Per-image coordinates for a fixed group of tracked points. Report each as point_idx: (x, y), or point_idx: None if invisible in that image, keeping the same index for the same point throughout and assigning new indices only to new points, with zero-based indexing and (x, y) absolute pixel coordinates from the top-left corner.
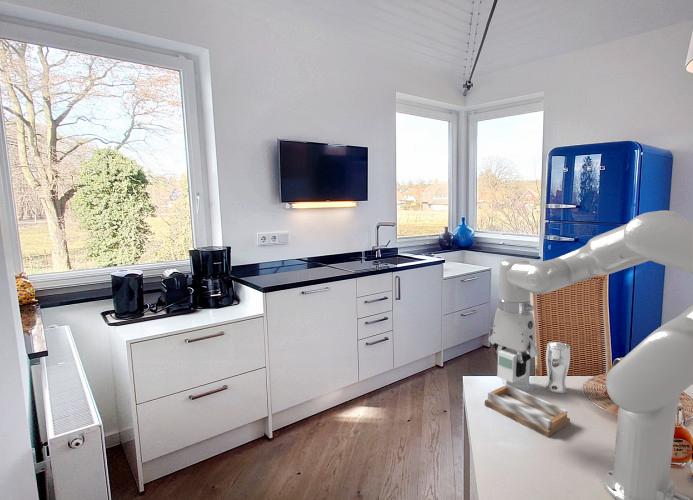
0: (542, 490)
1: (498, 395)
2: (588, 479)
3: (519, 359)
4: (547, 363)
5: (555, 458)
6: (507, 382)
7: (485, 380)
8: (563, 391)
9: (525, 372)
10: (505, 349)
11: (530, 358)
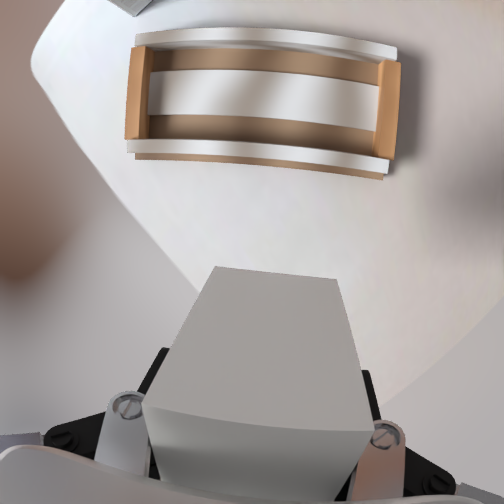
0: (419, 368)
1: (147, 99)
2: (483, 276)
3: (344, 489)
4: None
5: (421, 259)
6: (124, 5)
7: (64, 29)
8: None
9: (366, 372)
10: (170, 480)
11: (429, 470)
